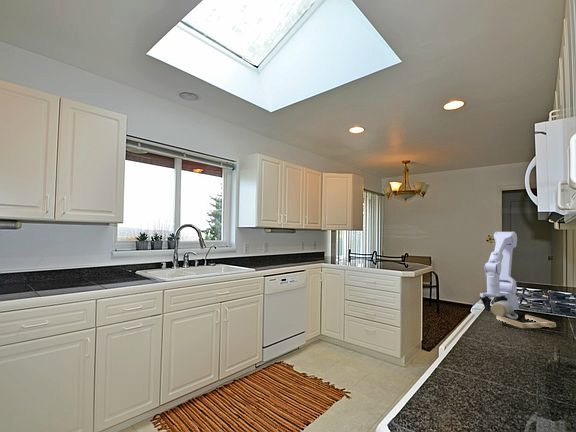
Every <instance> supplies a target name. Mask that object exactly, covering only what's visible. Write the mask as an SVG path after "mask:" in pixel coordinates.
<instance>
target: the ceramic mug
mask: <svg viewBox="0 0 576 432" xmlns="http://www.w3.org/2000/svg"><path fill="white" fill-rule="evenodd" d="M490 311H491V313H492V314H493V315H494V316H495V317H496V315H499V316H502V317H505V318H508V319H511V320H517V319H519V315H518V314H517V313H516V312H515V311H513V306H512V305H511V304H510V303H509V302H507V301H504V300H501V301H499V302H497V301H496V302H494V303H493V304H492V305H490Z"/></svg>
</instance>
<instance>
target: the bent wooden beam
mask: <svg viewBox="0 0 576 432" xmlns="http://www.w3.org/2000/svg"><path fill="white" fill-rule="evenodd" d="M495 317H496V319H497V320H496V319H495V320H496V321H499V320H500V322H502V321H503V323H505V322H506V324H509V325H511V326H514V327H517V328H520V329H540V328H541V329H542V327H549V328H557V323H556V322H555V321H550V320H548V319H544V318H542V317H536V316H533V315H529V314H525V315H524V319H525V320H527V319H529V320H528V321H531V320H533V321H532V322H520V321H517V320H516V319H511V318H509V317H506V316H505V317H502V316H499V315H496V316H495ZM534 321H536V322H534Z"/></svg>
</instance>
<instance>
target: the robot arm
mask: <svg viewBox="0 0 576 432" xmlns="http://www.w3.org/2000/svg"><path fill="white" fill-rule="evenodd" d="M517 235H518V234H517V233H516V231H495V232H494V233H493V240H494V243H495V245H494V251H492V252H491V253H490V256H489V258H488V261H487V262H485V263H484V267H483V270H484V273H485V277H486V292H480V293H479V298H480V300H481V302H482V304H483V307H484V309H485V311H486V312H490V311H491V302H492V298H495V299H496V302H499V301H501V300H504V301H507V302H509V303H510V304H511V305H512V306H513V312H515V311H514V310H520V309H519V297H518V295H517V294H516V293H517V288H518V287H517V281H516V280H515V279H514V278H513V277H512V276H511V275H512V272H511V271H512V264H513V263H512V261H513V250H514V248H516V247H517V245H518V244H517V243H518V236H517Z"/></svg>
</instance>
